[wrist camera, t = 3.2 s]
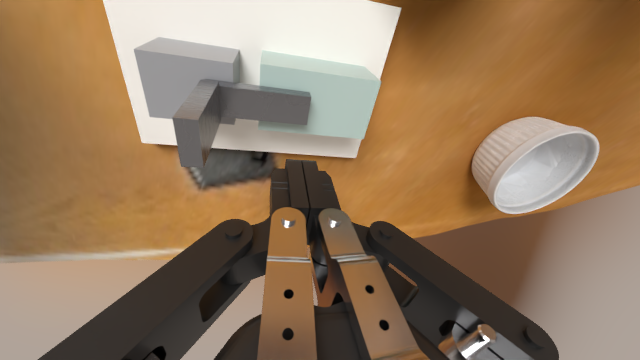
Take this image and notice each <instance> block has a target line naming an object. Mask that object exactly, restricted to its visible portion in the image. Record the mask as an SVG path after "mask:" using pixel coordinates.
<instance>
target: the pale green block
mask: <svg viewBox="0 0 640 360" xmlns="http://www.w3.org/2000/svg"><path fill="white" fill-rule="evenodd" d="M380 85H381V81H380V80H379V79H378V78H377V77H376V76H375V75H374V74H372V73H371V72H370V71H369V70H368V69H367V68H366V67H365V66H359V65H352V64H346V63H340V62H334V61H327V60H321V59H315V58H309V57H302V56H296V55H290V54H283V53H277V52H271V51H265V50H262V55H261V62H260V86H266V87H274V88H281V89H289V90H297V91H305V92H310V95H311V102H310V109H309V115H308V122H307V125H298V124H288V123H277V122H267V121H258V130H268V131H279V132H290V133H301V134H312V135H323V136H334V137H345V138H356V139H364V136H365V133H366V130H367V127H368V123H369V120H370V117H371V114H372V110H373V107H374V104H375V101H376V98H377V94H378V91H379V88H380Z"/></svg>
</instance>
